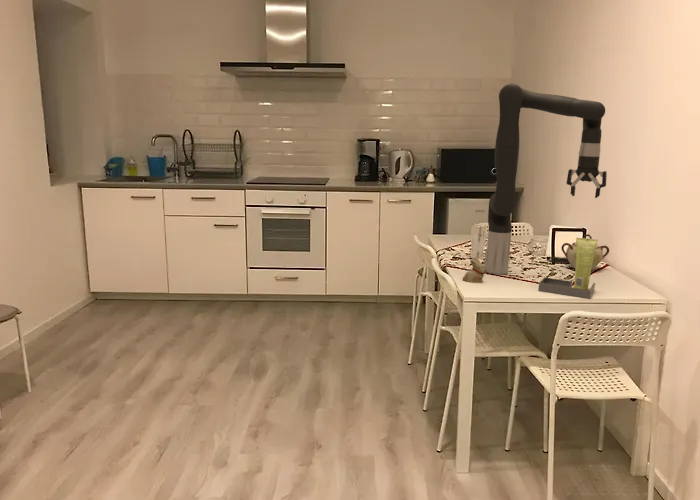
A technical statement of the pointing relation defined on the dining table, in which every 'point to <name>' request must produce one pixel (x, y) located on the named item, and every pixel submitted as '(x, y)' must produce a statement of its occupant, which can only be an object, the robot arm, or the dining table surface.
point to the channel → (564, 288)
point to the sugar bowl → (571, 254)
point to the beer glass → (477, 240)
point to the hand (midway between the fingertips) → (584, 196)
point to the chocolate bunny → (475, 271)
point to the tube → (584, 261)
